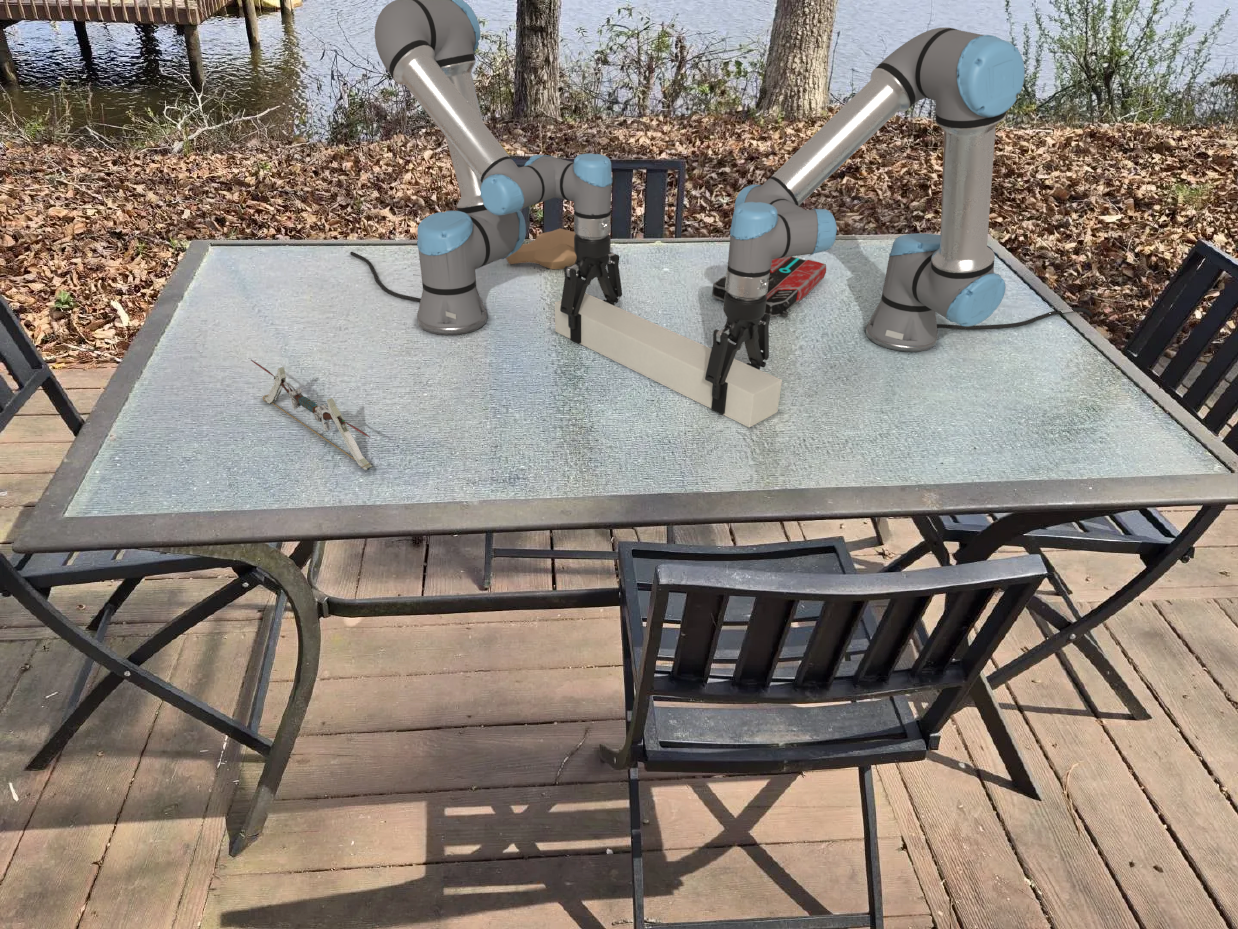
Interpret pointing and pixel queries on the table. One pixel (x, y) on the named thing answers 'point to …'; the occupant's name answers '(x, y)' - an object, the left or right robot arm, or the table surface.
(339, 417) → the bow
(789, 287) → the gun
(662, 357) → the wide beam
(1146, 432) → the table surface
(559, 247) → the squash
